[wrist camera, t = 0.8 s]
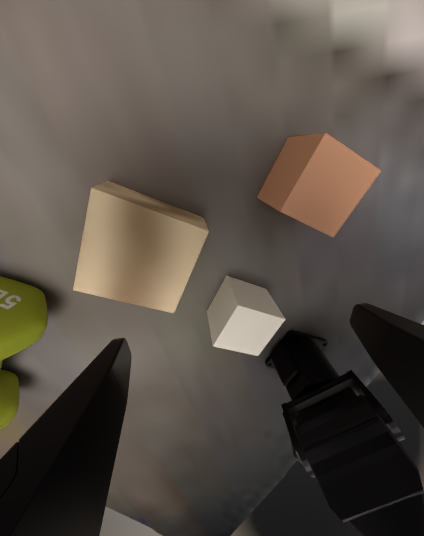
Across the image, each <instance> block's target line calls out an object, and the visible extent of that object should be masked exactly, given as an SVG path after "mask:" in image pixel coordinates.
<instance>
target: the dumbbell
mask: <svg viewBox="0 0 424 536" xmlns="http://www.w3.org/2000/svg"><path fill="white" fill-rule="evenodd" d="M47 321H48V311H47V303H46V299H45V296H44V293H43V292H42V291H41V290H40V289H38V288H36V287H33V286H31V285H28V284H25V283H22V282H19V281H15V280H12V279H9V278H5V277H1V276H0V430H1V429H2V428H3V427H5V426H6V425H7V424H8V423H9V422H10V421H11V420H12V419H13V418H14V417H15V415H16V413H17V410H18V406H19V381H18V377H17V376H16V374H14V373H12V372H9V371H6V370H2V369H1V366H2V362H3V359H5V358H8V357H10V356H12V355H14V354H16V353H18V352H20V351H22V350H24V349H25V348H27V347H29V346H31V345H32V344H34V343H35V342H36V341H38V340H39V339H40V338H41V337H42V335H43V333H44V331H45V329H46V326H47Z"/></svg>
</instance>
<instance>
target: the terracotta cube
mask: <svg viewBox="0 0 424 536" xmlns="http://www.w3.org/2000/svg"><path fill="white" fill-rule="evenodd" d="M380 172H381V170H379V169H378V168H376V167H375V166H374V165H372V164H371V163H369V162H368V161H366V160H365V159H363V158H362V157H360V156H359V155H358V154H356V153H355V152H353V151H352V150H350V149H349V148H347V147H346V146H344V145H343V144H342V143H340V142H339V141H337V140H336V139H334V138H333V137H331V136H330V135H328V134H327V133H319V134H311V135H302V136H294V137H288V138H287V140H286V142H285V144H284V146H283V148H282V150H281V152H280V154H279V156H278V158H277V160H276V161H275V163H274V165H273V167H272V169H271V171H270V173H269V175H268V177H267V179H266V181H265V183H264V185H263V186H262V188H261V190H260V192H259V194H258V196H257V198H258V199H260V200H261V201H263V202H265V203H266V204H268V205H270V206H271V207H273V208H275V209H276V210H278V211H280V212H282V213H284V214H286V215H288V216H290V217H292V218H294V219H296V220H298V221H300V222H302V223H304V224H306V225H309V226H311V227H313V228H315V229H317V230H319V231H321V232H323V233H325V234H327V235H329V236H331V237H334V236H335V235H336V233H337V232H338V231H339V229H340V228H341V226H342V225H343V224H344V222H345V221H346V219H347V218H348V217H349V215H350V214H351V212H352V211H353V210H354V208H355V207H356V205H357V204H358V203H359V201H360V200H361V199H362V197H363V196H364V194H365V193H366V192H367V190H368V189H369V187H370V186H371V185H372V183H373V182H374V180H375V179H376V178H377V176H378V175H379V173H380Z"/></svg>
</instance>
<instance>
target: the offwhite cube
mask: <svg viewBox="0 0 424 536" xmlns="http://www.w3.org/2000/svg"><path fill="white" fill-rule="evenodd" d="M207 316H208V322H209V327H210V333H211V338H212V344H213V346H214V347H218V348H223V349H228V350H232V351H237V352H241V353H246V354H251V355H255V356H258V355H259V354H260V353H261V351H262V350H263V349H264V347H265V346H266V345H267V343H268V342H269V341H270V339H271V338H272V337H273V335H274V334H275V333H276V331H277V330H278V329H279V327H280V326H281V325H282V323H283V322H284V321H285V318H284V316H283V315H282V313H281V311H280V310H279V308H278V307H277V305H276V304H275V302H274V300H273V299H272V297H271V296H270V294H269V293H268V291H267V289H265V288H262V287H259V286H256V285H253V284H250V283H247V282H244V281H242V280H239V279H236V278H233V277H230V276H227V275H226V277H225V279H224V281H223V283H222V284H221V286H220V288H219V290H218V292H217V294H216V295H215V297H214V299H213V301H212V303H211V305H210V306H209V308H208V310H207Z"/></svg>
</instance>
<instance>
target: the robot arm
mask: <svg viewBox="0 0 424 536" xmlns="http://www.w3.org/2000/svg"><path fill="white" fill-rule="evenodd" d="M350 325H351V327H352V328H353V330H354V332H355V333H356V335H357V336H358V338H359V340H360V341H361V343H362V344H363V346H364V347H365V349H366V351H367V352H368V354H369V355H370V357H371V358H372V360H373V361H374V363H375V364H376V366H377V367H378V368H379V370H380V371H381V372H382V373H383V375H384V376H385V377H386V379H387V380H388V381H389V383H390V384H391V385H392V387H393V388H394V389H395V390H396V392H397V393H398V395H399V396H400V397H401V399H402V400H403V401H404V402H405V404H406V405H407V406H408V408H409V409H410V410H411V412H412V413H413V414H414V416H415V417H416V418H417V419H418V421H419V422H420V424H421V425H422V426H423V428H424V325H422V324H419V323H417V322H414V321H411V320H409V319H406V318H404V317H401V316H399V315H396V314H393V313H391V312H388V311H386V310H383V309H380V308H378V307H375V306H373V305H370V304H367V303H362V304H356V305H355V306H354V308H353V311H352V314H351V317H350ZM327 345H328V342H327V341H326V340H324V339H321V338H317V337H313V336H310V335H306V334H302V333H299V332H295V331H290V332H289V333H288V334H287V335H286V336H285V338H284V339H283V340H282V341H281V343H280V344H279V345H278V347H277V348H276V349H275V350H274V352H273V353H272V354H271V356H270V357H269V358H268V359H267V361H266V362H265V363H266V366H267V367H271V368H276V370H277V372H278V375H279V377H280V379H281V381H282V383H283V385H284V386H286V389H287V391H288V393H289V395H290V397H291V400H292V401H290V402H288V403H284V404H282V408H283V416H284V418H285V422H286V425H287V428H288V431H289V435H290V438H291V443H292V449H293V454H294V456H295V458H296V459H297V460H298V461H300V462H301V463H302V464H303V466H304V467H305V469H306V470H307V472H308V473H309V474H310V476H311V477H316V479H317V481H318V483H319V486H320V488H321V490H322V492H323V494H324V496H325V498H326V500H327V502H328V505H329V506H330V508H331V509H332V510H333V511H334V512H335V513H336V515H337V516H338V517H339V518H340V519H341V520H342V521H343V522H348V523H349V524H350V525H351V526H352V527H353V528H354V529H355V530H356V531H357V532H358V533H359V534H360V535H361V536H424V490H423V487H422V483H421V479H420V475H419V472H418V469H417V466H416V465H415V463H414V462H413V460H412V459H411V458H410V457H409V455H408V454H407V452H406V451H405V449H404V448H403V447H402V445H401V444H400V443H399V441H401V440H403V439H405V438H404V436H403V434H402V433H401V431H400V429H399V428H398V427H397V425H396V424H395V422H394V421H393V420H392V418H391V417H390V415H389V414H388V413H387V412H386V410H385V409H384V408H383V407H382V405H381V404H380V403H379V402H378V401H377V399H376V398H375V397H374V396H373V395H372V393H371V392H370V391H369V390H368V389H367V388H366V387H365V385H364V384H363V383H362V382H361V381H360V380H359V378H358V377H357V376H356V375H355V374H354V373H353V371H352V370H350V371H348V372H347V373H346V374H344V375H342V376H339V375H338V373H337V372H336V371H335V369H334V368H333V367H332V365H331V364H330V362H329V361H328V360H327V358H326V357H325V355H324V354H323V353H322V351H323V350H324V348H325V347H326V346H327ZM130 368H131V352H130V349H129V346H128V343H127V341H126V339H125V338H118V339H113V340H112V341H111V342H110V343H109V344H108V345H107V346H106V347H105V348H104V349H103V350H102V352H101V353H100V354H99V355H98V356H97V357H96V358H95V359H94V360H93V361H92V362H91V363H90V364H89V365H88V366H87V368H86V369H85V370H84V371H83V372H82V373H81V374H80V375H79V376H78V377H77V378H76V379H75V380H74V381H73V382H72V384H71V385H70V386H69V387H68V388H67V389H66V390H65V391H64V392H63V393H62V394H61V395H60V396H59V397H58V398H57V400H56V401H55V402H54V403H53V404H52V405H51V406H50V407H49V408H48V409H47V410H46V411H45V412H44V413H43V414H42V416H41V417H40V418H39V419H38V420H37V421H36V422H35V423H34V424H33V425H32V426H31V427H30V428H29V429H28V430H27V432H26V433H25V434H24V435H23V436H22V437H21V438H20V439H19V442H16V443H15V444H14V445H13V446H12V447H11V448H10V449H9V451H8V452H7V453H6V454H5V455H4V456H3V457H2V458H1V459H0V536H99V534H100V530H101V525H102V520H103V515H104V510H105V506H106V501H107V496H108V491H109V486H110V482H111V477H112V472H113V467H114V463H115V458H116V453H117V448H118V443H119V439H120V434H121V429H122V424H123V420H124V415H125V410H126V405H127V397H128V388H129V378H130Z"/></svg>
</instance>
